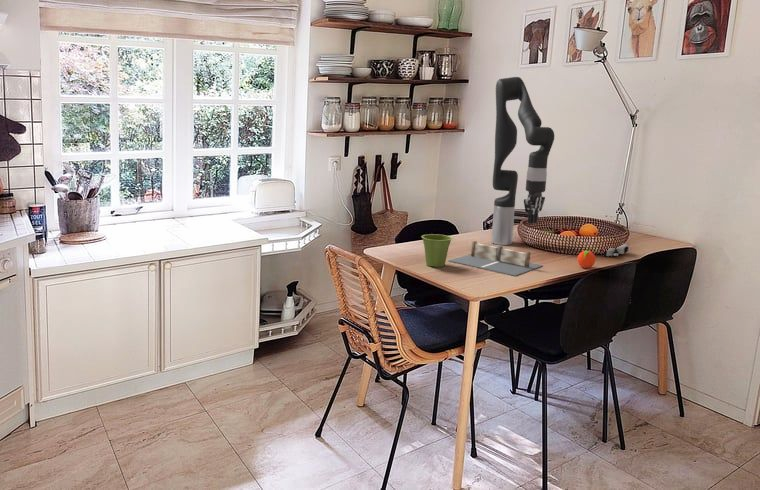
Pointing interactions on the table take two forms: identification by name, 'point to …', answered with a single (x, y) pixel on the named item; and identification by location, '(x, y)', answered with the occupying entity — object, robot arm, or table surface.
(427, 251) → the plant pot
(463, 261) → the card
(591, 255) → the clementine
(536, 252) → the table surface
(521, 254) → the swinging fence section
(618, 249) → the robot toy
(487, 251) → the fixed fence section
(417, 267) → the table surface
